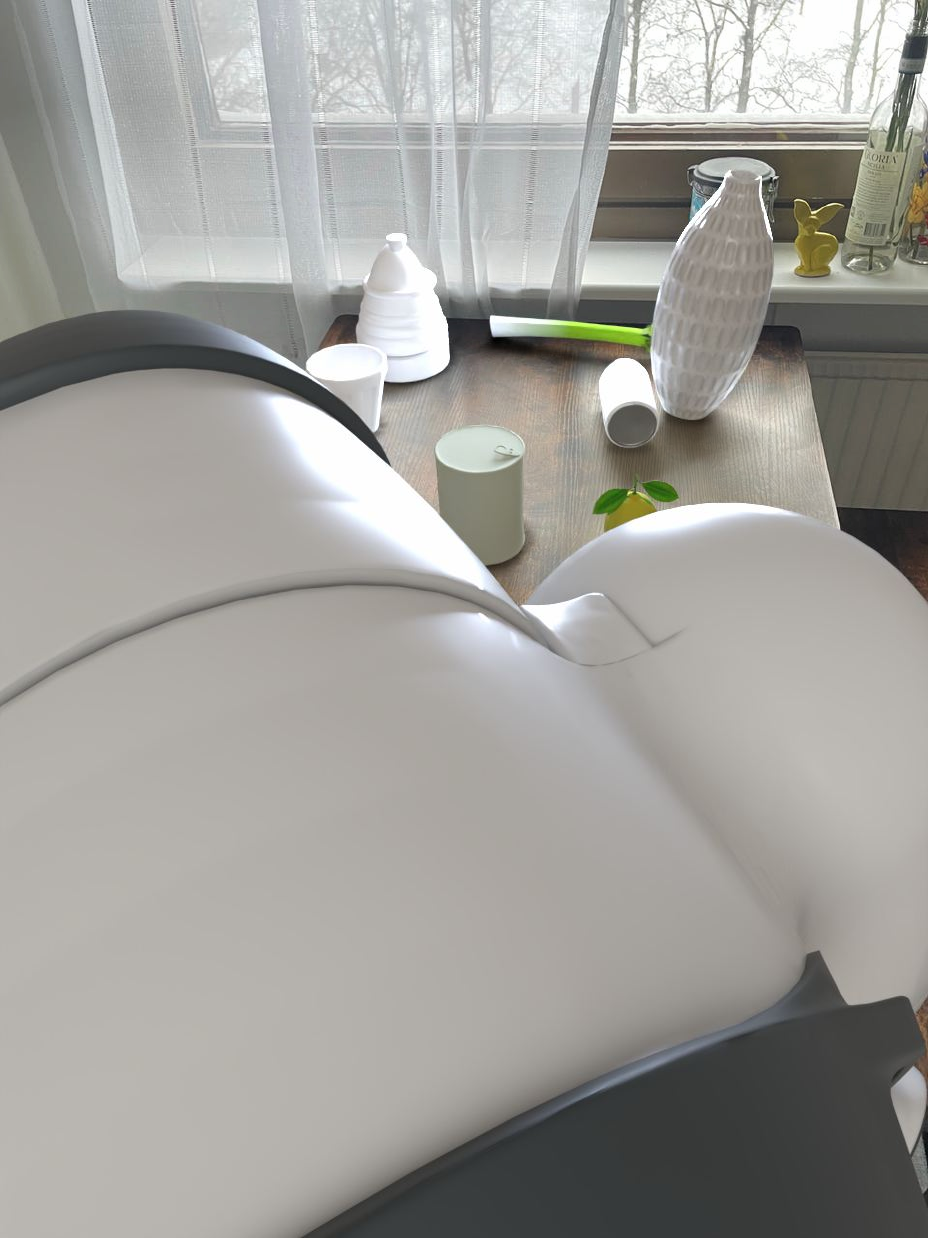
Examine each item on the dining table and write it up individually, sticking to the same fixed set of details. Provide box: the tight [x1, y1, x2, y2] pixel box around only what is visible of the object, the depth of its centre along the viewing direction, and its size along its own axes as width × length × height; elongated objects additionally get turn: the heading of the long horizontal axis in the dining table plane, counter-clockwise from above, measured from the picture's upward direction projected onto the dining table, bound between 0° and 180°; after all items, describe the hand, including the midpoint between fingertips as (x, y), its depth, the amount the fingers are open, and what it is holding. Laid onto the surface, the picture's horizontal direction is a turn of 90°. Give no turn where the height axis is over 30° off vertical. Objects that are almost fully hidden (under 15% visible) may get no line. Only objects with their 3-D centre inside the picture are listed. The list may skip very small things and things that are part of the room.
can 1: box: [433, 424, 526, 567], centre depth 96 cm, size 9×9×12 cm
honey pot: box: [355, 232, 450, 383], centre depth 126 cm, size 13×13×18 cm
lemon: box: [591, 474, 680, 534], centre depth 94 cm, size 7×6×10 cm
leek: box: [489, 315, 653, 355], centre depth 131 cm, size 6×7×30 cm
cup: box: [305, 343, 387, 435], centre depth 115 cm, size 10×10×9 cm
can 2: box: [598, 357, 660, 449], centre depth 114 cm, size 6×6×12 cm
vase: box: [650, 169, 775, 421], centre depth 109 cm, size 13×13×28 cm
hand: (452, 864), depth 62 cm, fingers open, 7 cm apart
